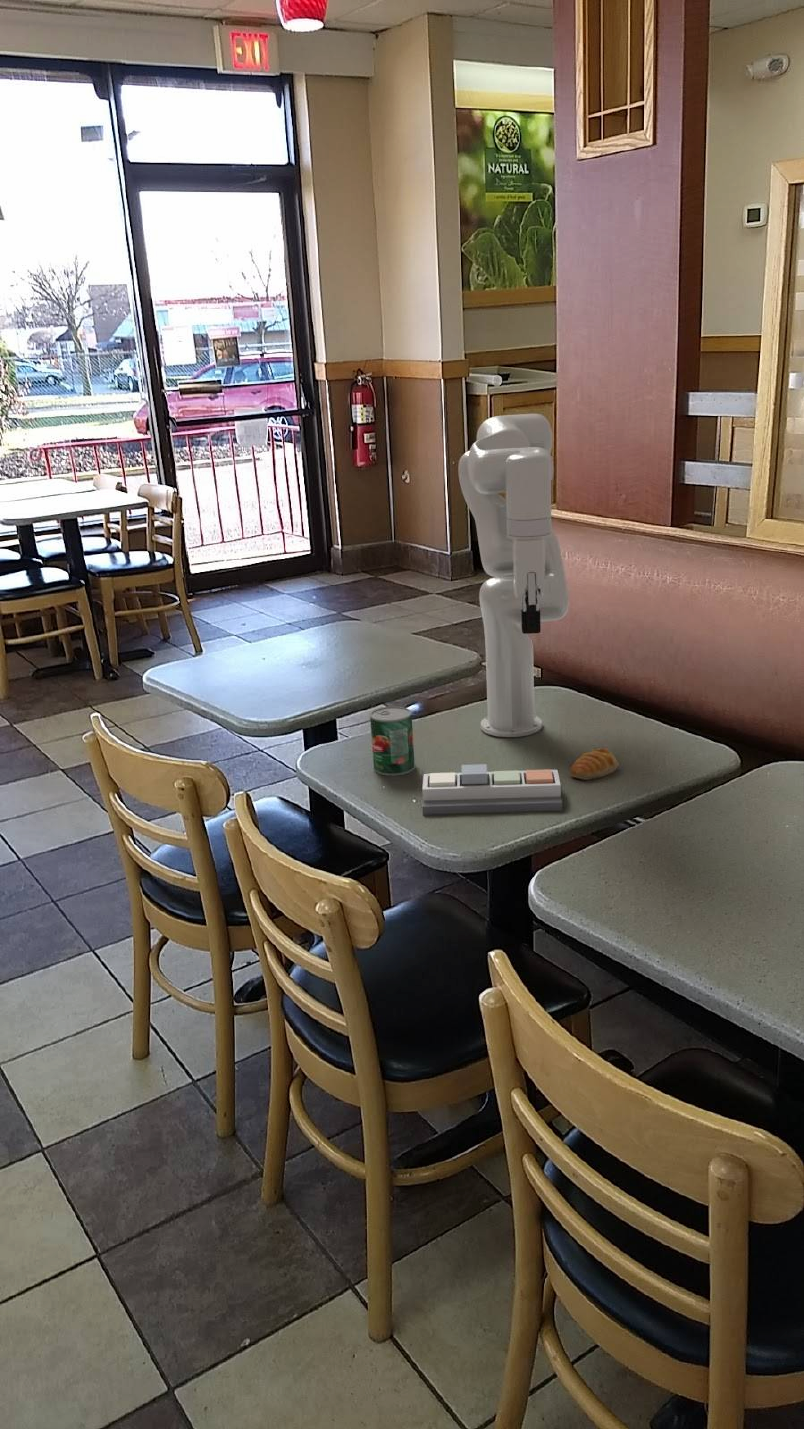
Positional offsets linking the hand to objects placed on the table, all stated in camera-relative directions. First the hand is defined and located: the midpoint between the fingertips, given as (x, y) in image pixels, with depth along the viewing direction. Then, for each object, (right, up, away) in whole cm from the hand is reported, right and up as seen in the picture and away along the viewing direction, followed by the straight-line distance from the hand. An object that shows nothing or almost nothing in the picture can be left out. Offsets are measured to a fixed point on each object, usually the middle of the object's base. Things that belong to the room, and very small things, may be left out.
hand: (531, 632), depth 193 cm
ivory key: (-15, -27, 0) cm, 31 cm away
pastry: (+13, -25, +9) cm, 30 cm away
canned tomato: (-24, -25, +16) cm, 38 cm away
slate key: (-10, -26, -1) cm, 28 cm away
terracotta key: (+1, -27, -1) cm, 27 cm away
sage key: (-4, -27, -1) cm, 27 cm away
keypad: (-7, -29, 0) cm, 30 cm away
